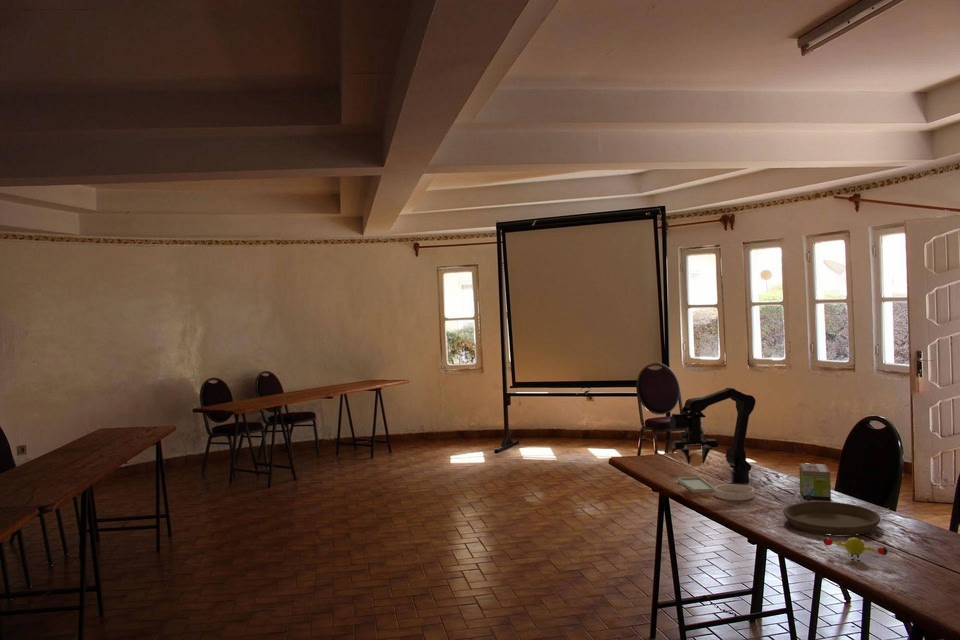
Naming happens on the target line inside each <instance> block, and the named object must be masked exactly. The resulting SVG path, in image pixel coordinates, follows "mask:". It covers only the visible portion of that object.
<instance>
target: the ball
mask: <svg viewBox="0 0 960 640" xmlns="http://www.w3.org/2000/svg"><path fill="white" fill-rule="evenodd" d="M689 458H690V464H689V465H691V466H693V467H700V466H701V465H702V464H703V463H702V462H703V458H702V454H700V453H699V452H693V453H690V454H689Z"/></svg>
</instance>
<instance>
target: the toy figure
mask: <svg viewBox="0 0 960 640" xmlns="http://www.w3.org/2000/svg"><path fill="white" fill-rule="evenodd" d="M823 544H824V545H825V546H832V545H833V544H836V545H837V547H838V546H840V547H841V546H842V547H844V548H845V550H846V551H847V552H848V553H849V554H850V557H854V556H856V559H857V558H860V555H862V554H863V553H864V552H865V551H870V552H873V551H877V552H878V554H879V555H881V556H887V555H888V552H889V551H888V549H887V547H885V546H880V547H878V548H877V549H876V548H874V547H872V546H866V545H865V544H866V541H865V540H863V539H860V538H858V537H856V536H851V537H849V538H848V539H847V540H846V541H845V542H841V541H833V539H832V538H830V537H825V538H824V539H823Z"/></svg>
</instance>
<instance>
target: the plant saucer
mask: <svg viewBox="0 0 960 640" xmlns="http://www.w3.org/2000/svg"><path fill="white" fill-rule="evenodd" d="M782 513H783V516H784V517H785V519H786V520H787V521H788V522H790V524H791V525H792V526H793V527H794V528H796V529H798V528H799V530H801V531H803V530H804V532H807V531H808V532H807V533H810V532H812V534H815V533H817V534H816V535H821V534H831V535H856V534H863V533H867V532H869V533H871V532H872V531H873V530H874V529H875V528H876V527H877V526H878V525H879V524H880V522H881V516H880V515H879V513H877V512H876V511H875V510H872V509H869V508H866V507H863V506H860V505H857V504H856V505H855V504H850V503H845V502H835V501H834V502H833V501H831V502H804V503H802V502H798V503H794V504H790V505H788V506H786V507H784V509H783V510H782ZM870 531H871V532H870ZM867 534H868V533H867ZM863 535H864V534H863Z"/></svg>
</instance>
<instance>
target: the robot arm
mask: <svg viewBox="0 0 960 640" xmlns="http://www.w3.org/2000/svg"><path fill="white" fill-rule="evenodd" d="M727 399H730V400H732V401H734V402H735V409H736V412H737V414H736V415H737V416H736V422H735V428H734V435H733V439H732V445H731V446H730V448H729V447H727V448H726V454H725V456H724V457H725V458H726V462H727V464H729V466H730V468H731V472H730V474H731V476H730V477H731V481H730V482H732V484H747V483H750V472H749V471H751V469H752V465H751V464H750V463H749V462H748V461H747V453H746V451H745V443H746V436H747V430H748V425H749V418H750V415H751V413H752V412H753V411H754V409H755V407H756V406H755V405H756V398H755V397H754V396H753V395H750V394H746V393H743V392H741V391H738V390H737V389H735V388H733V387H726V388H724V389H721V390H718V391H716V392H713V393H711V394H707V395H705V396H702V397H693V398H688V399H686V400H685V402H684V406H683V407H682V409H681V410H680V412H679V413H672V414H671V416H670V419H669V426H670V428H671V430H672V431H674V430H685V429H686V431H681V432H680V433H679V437H680V439H679V440H673V441H672V443H671V446H672V448H673V449H675V450H681V451H682V453H683V455H684V457H685V459H686V462H687V465H691V464H690V458H689V456H690V450H689V448H688V447H701V456H702V458H703V462H702V464H705V462H706V459H707V457H708V454H709V453H710V451H711V450H713V448H719V442H718V440H716V439H715V438H706V439H705V440H704V441H703V438H702V434H703V431H702V421H701V420H702V418H706V415H705V414H704V413H703V412H702V411H705V410H706V409H707V408H708V407H710V406H711V405H714V404H717V403H720V402H722V401H725V400H727ZM683 440H684V441H683Z"/></svg>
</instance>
